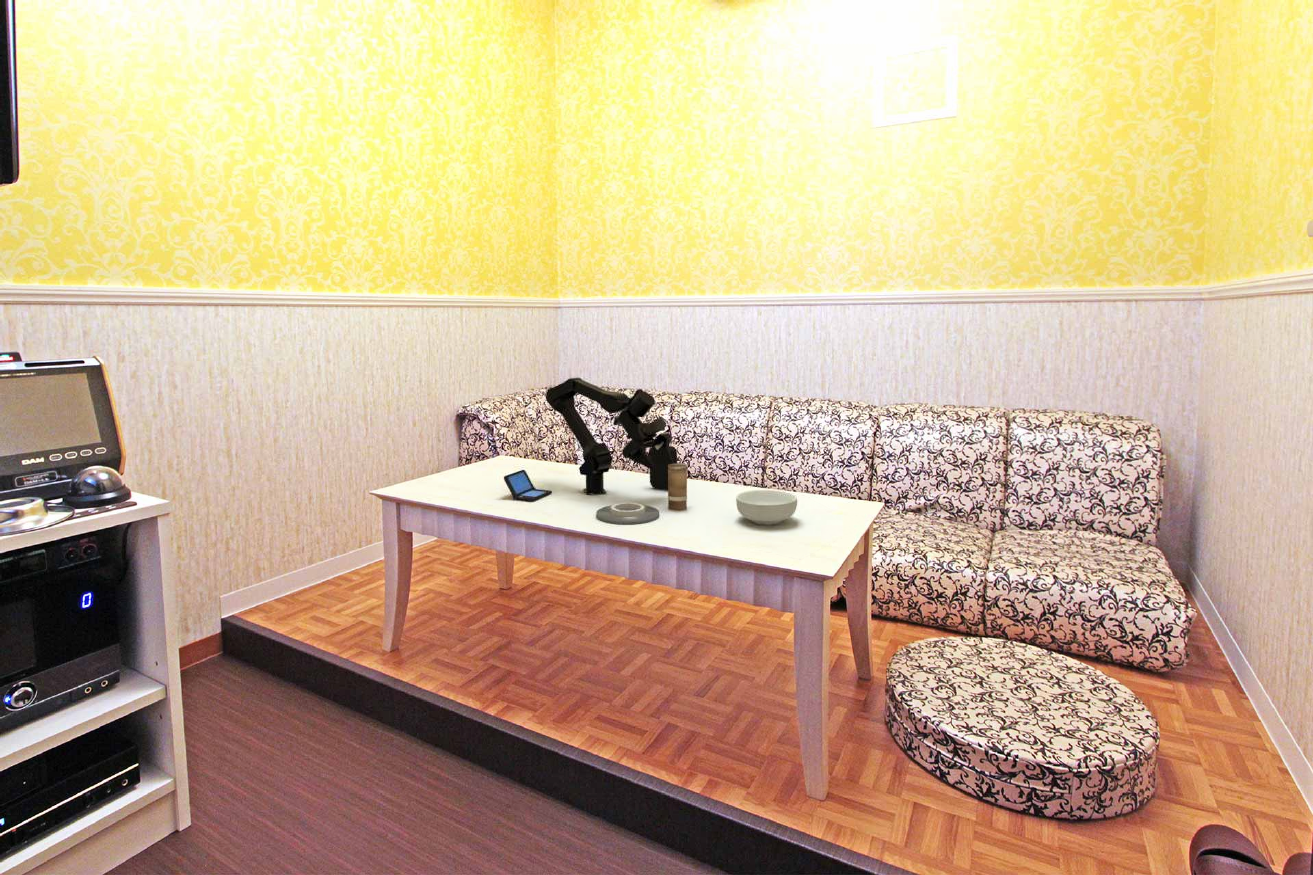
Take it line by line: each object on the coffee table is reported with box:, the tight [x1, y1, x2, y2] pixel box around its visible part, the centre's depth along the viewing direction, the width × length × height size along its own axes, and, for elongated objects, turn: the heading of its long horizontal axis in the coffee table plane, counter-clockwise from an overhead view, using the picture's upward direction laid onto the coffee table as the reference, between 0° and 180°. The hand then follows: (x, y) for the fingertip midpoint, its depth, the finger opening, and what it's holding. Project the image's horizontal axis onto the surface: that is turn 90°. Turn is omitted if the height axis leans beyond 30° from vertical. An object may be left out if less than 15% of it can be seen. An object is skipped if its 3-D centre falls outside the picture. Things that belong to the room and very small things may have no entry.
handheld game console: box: [503, 469, 553, 503], centre depth 228 cm, size 12×11×7 cm
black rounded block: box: [647, 445, 678, 491], centre depth 237 cm, size 11×3×15 cm, turn 62°
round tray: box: [595, 502, 660, 526], centre depth 206 cm, size 18×18×2 cm
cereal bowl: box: [735, 489, 798, 526], centre depth 201 cm, size 17×17×7 cm
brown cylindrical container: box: [667, 463, 688, 512], centre depth 214 cm, size 6×6×13 cm
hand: (663, 466), depth 216 cm, fingers open, 9 cm apart
